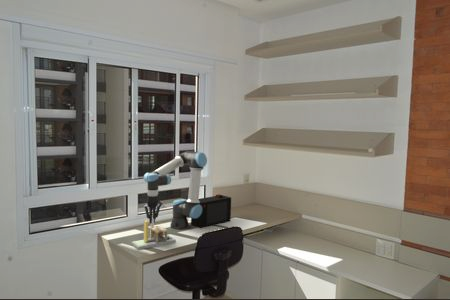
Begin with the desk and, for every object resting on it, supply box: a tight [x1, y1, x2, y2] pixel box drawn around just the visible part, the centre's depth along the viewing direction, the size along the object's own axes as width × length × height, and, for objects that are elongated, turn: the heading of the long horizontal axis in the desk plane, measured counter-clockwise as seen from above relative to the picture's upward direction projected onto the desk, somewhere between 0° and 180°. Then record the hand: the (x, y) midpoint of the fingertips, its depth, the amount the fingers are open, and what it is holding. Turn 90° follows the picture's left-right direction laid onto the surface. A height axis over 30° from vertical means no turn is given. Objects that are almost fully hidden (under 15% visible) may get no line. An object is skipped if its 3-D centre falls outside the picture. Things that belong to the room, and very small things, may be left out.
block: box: [154, 231, 164, 238], centre depth 249 cm, size 5×5×5 cm
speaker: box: [190, 194, 232, 229], centre depth 302 cm, size 15×35×24 cm, turn 133°
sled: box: [143, 220, 165, 242], centre depth 247 cm, size 14×7×15 cm, turn 125°
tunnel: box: [149, 225, 168, 243], centre depth 249 cm, size 8×12×8 cm, turn 35°
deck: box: [131, 234, 176, 251], centre depth 247 cm, size 29×12×2 cm, turn 125°
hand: (152, 227), depth 245 cm, fingers closed
